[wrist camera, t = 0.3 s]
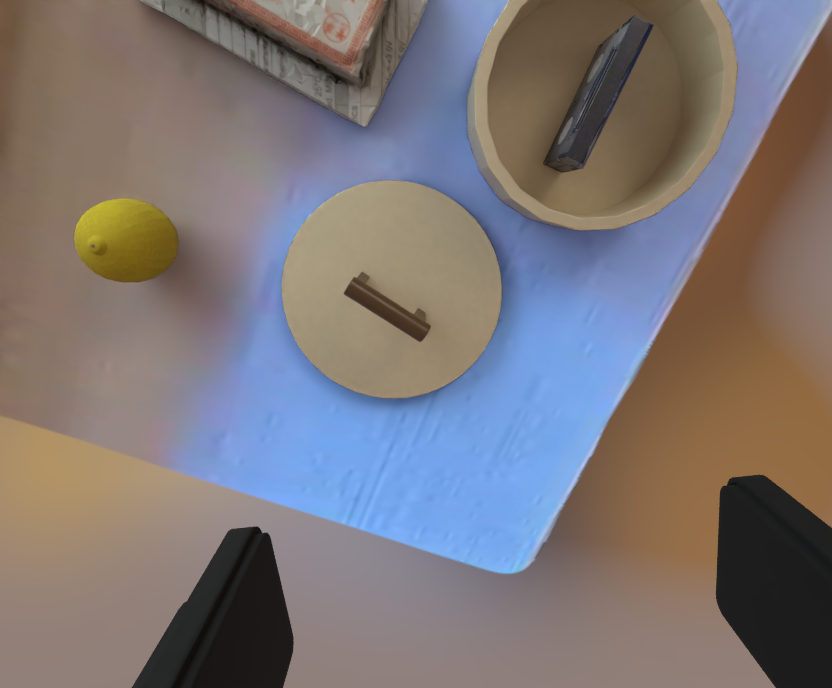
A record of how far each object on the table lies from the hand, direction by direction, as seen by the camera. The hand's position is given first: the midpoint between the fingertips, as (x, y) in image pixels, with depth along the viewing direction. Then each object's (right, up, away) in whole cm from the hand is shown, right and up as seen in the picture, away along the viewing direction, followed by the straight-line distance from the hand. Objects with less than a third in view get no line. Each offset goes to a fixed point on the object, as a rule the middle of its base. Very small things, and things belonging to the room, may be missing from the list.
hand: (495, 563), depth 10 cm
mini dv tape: (+10, +21, +25) cm, 34 cm away
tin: (+10, +21, +25) cm, 34 cm away
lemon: (-21, +13, +28) cm, 37 cm away
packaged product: (-11, +28, +23) cm, 38 cm away
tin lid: (-3, +8, +28) cm, 30 cm away
